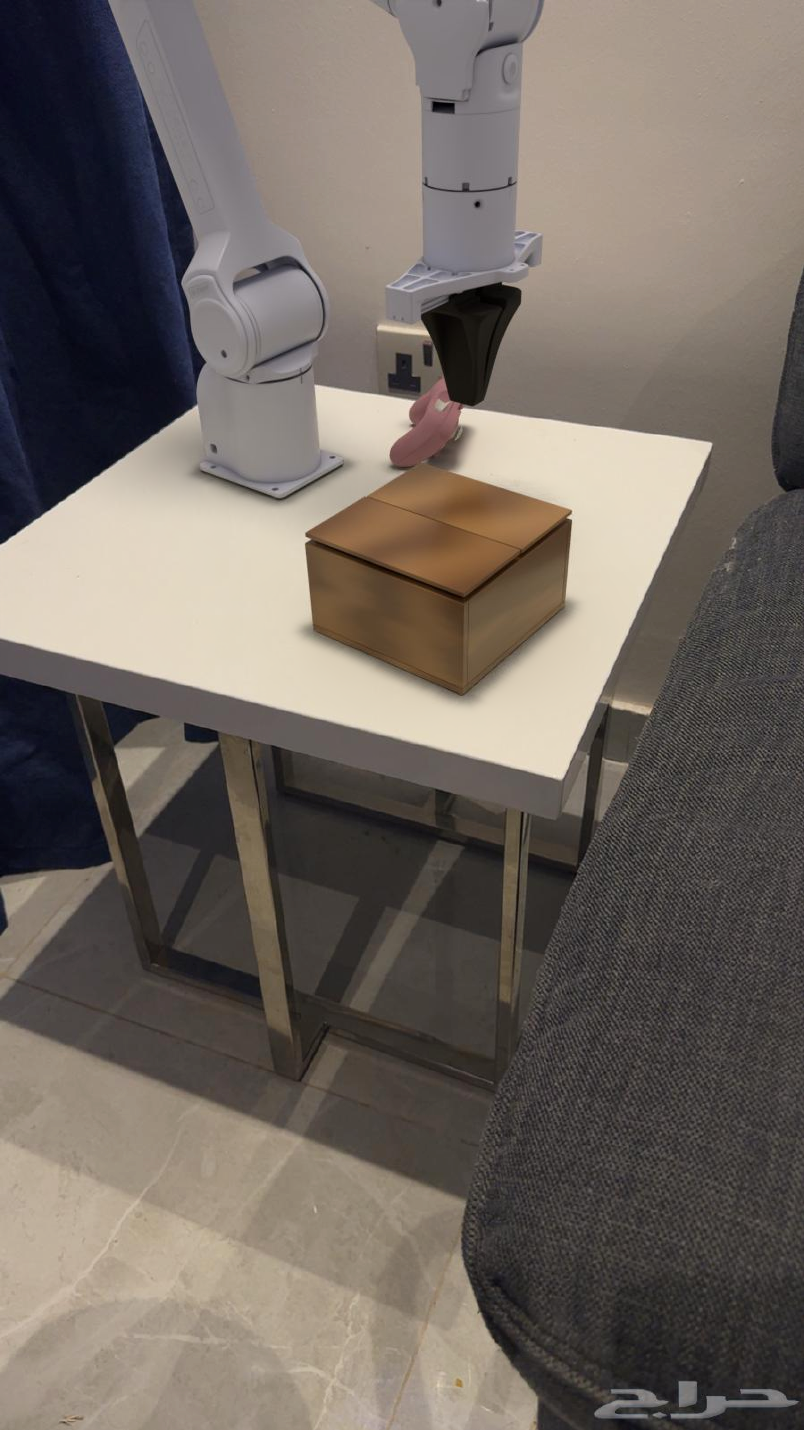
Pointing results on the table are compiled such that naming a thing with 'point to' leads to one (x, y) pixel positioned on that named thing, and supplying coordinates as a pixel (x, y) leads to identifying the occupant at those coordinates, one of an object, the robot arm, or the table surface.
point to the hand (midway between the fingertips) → (466, 400)
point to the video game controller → (428, 427)
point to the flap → (472, 505)
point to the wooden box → (431, 590)
